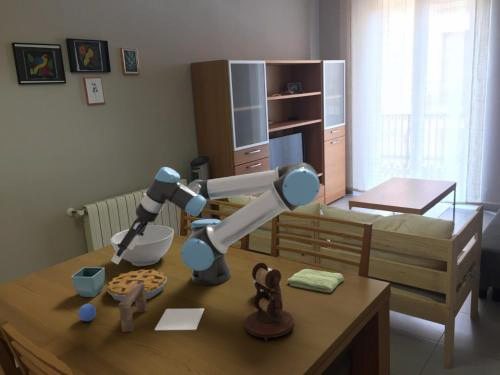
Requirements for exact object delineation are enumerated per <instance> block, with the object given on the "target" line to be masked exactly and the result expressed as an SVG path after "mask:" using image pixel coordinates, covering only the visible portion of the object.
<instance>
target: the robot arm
mask: <svg viewBox="0 0 500 375" xmlns="http://www.w3.org/2000/svg"><path fill="white" fill-rule="evenodd" d="M180 179H181V175H180V174H179V172H177V171H176V170H174V169H173V168H171V167H169V166H168V167H167V166H163V167H161V168H160V169H159V171H158V172H157V173H156V175H155V176H154V177H153V179H152V181H151V184H150V185H149V187H148V189H147V190H146V192H145V193H143V194H142V196H143V198H142V199H141V201H140V203H139V204H138V206H137V207H136V210H135V214H136V216H137V218H136V219H134V221H133V222H132V225H130V228H128V229H129V231H128V232H127V234H126V235H125V237H124V238H123V240H122V241H121V243H120V244H117V245H118V249H117V251H116V250H115V252H114V254H113V256H112V258H111V259H110V261H111V262H112V263H114V264H116V265H119V263H120V262H121V260H122V259H123V258H122V257H123V255H124V253H125V252H126V250H127V248H129V249H130V250H133V248H134V246H135V245H136V243H137V241H138V240H139V238H140V235H141V236H143V235H144V233H143V232H144V231H145V229H146V227H147V226H148V224H149V223H153V222H156V220H157V218H158V216H159V215H160V213H161V211H162V210H163V208H164V206H165V205H166V203H167V201H168V202H170V203H171V204H173V205H174V206H176V207H177V208H179V209H181V210H182V211H183V212H185V214H188V215H190V216H192V217H195V218H196V217H198V216H199V214H200V213H201V212H202V210H203V208H204V207H205V206H206V204H207V201H213V200H219V199H226V198H233V197H240V196H249V195H255V194H261V193H263V194H261V195H260V196H258V197H256V198H255V199H253V200H252V201H251V202H248V203H247V204H245V205H243V207H241V208H240V209H238V210H236V211H235V212H233V213H232V214H230V215H229V216H227V217H225V218H224V219H223V220H220V219H217V218H205V219H198V220H194V221H192V222H191V224H190V225H191V226H190V230H191V234H190V235H189V236H188V237H187V239H186V240H185V241H184V242H183V243H182V246H181V249H180V256H181V257H180V258H181V260H182V262H183V264H184V265H185V266H186V267H187V268H189V269H190V270H192V271H191V280H192V282H193V283H195V284H196V285H197V284H198V285H201V286H213V285H218V284H221V283H225V282H226V281H228V280H229V279H230V278H231V275H232V274H231V268H230V265H229V264H228V262H227V259H226V256H225V254H226V253H228V248H229V247H230V246H232V245H233V244H235V243H236V242H238V241H239V240H240V239H243V238H245V236H246V235H248V234H250V233H252V232H254V231H255V230H256V229H258V228H260V227H261V226H263V225H264V224H266V223H267V222H268V221H270V220H272V219H274V218H275V217H277V216H278V215H280V214H281V213H283V212H284V211H287V212H294V211H295V210H296V209H299V207H305V206H308V205H309V204H311V203H312V202H315V200H316V198H317V197H318V195H319V192H320V190H321V185H320V184H321V182H320V179H319V175H318V172H317V171H316V169H315V168H314V167H313V166H312V165H311V164H309V163H307V162H295V163H290V164H285V165H280V166H276V167H275V169H272V170H271V169H270V170H265V171H264V170H263V171H260V172H252V173H245V174H238V175H231V176H227V177H220V178H219V177H218V178H212V179H207V180H202V179H194V180H193V181H191V182H189V184H188V185H184V183H181V181H180Z"/></svg>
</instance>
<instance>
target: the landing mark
mask: <svg viewBox="0 0 500 375" xmlns="http://www.w3.org/2000/svg"><path fill="white" fill-rule="evenodd" d="M204 312H205V308H166V309H165V311H164V313H163V314H162V316H161V318H160V319H159V321H158V323H157V325H156V326H155V327H154V331H196V330H197V329H198V326H199V324H200V321H201V318H202V317H203V313H204Z"/></svg>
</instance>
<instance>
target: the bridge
mask: <svg viewBox="0 0 500 375" xmlns="http://www.w3.org/2000/svg"><path fill="white" fill-rule="evenodd" d="M134 300H135V301H134ZM134 302H135V303H134ZM133 303H134V304H135V308H136V312H138V313H139V312H140V313H142V312H143V313H144V312H147V310H148V304H147V303H148V302H147V299H146V295H145V287H144V284H135V285H134V286H133V287H132V289H131V290H130V291H129V292H128V294H127V295H126V296H125V297H124V298H123V300H122V301H119V304H118V310H119V316H120V324H121V329H122V330H121V331H122V332H123V333H132V332H133V331H134V330H135V324H134V318H133V312H132V311H133V310H132V304H133Z"/></svg>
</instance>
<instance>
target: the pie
mask: <svg viewBox="0 0 500 375" xmlns="http://www.w3.org/2000/svg"><path fill="white" fill-rule="evenodd" d="M167 278H168V276H167V275H166V274H165V272H162V270H160V269H157V270H155V269H154V268H150V269H142V268H141V269H138V270H136V271H135V270H131V271H128V272H126V273H120V274H119V275H118V276H117V277H113V278H112V279H111V281H109V282H108V286H107V288H106V291H107V293H108V294H109V295H110V296H112V298H113V299H114V300H115V301H119V302H121V301H122V300H123V298H124V297H125V296H126V295H127V294H128V292H129V291H130V290H131V289H132V287H133V286H134V285H135V284H144V287H145V295H146V300H148V299H151V298H153V297H155V296H157V295H158V294H160V293H161V291H163V289H164V286H165V284H166V283H167ZM133 302H135V300H134V301H133Z"/></svg>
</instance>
